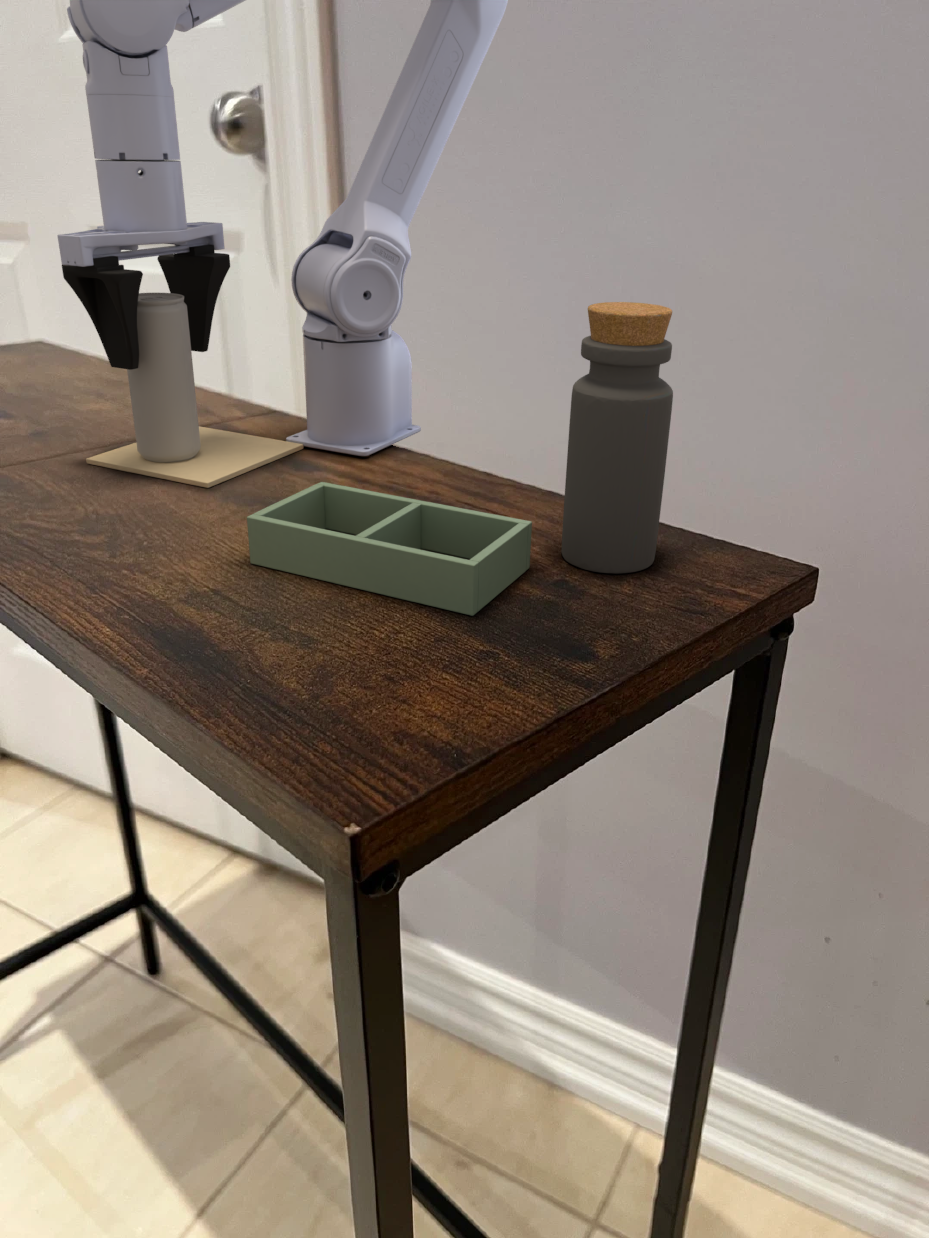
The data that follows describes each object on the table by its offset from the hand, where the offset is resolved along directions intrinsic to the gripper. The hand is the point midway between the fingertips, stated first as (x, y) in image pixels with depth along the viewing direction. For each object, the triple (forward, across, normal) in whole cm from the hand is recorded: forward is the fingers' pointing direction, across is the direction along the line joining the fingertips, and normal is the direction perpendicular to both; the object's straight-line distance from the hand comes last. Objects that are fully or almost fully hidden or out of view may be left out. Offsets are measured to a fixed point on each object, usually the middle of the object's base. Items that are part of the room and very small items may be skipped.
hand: (161, 358), depth 75 cm
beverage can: (+8, 0, 0) cm, 8 cm away
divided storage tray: (+8, +10, +26) cm, 29 cm away
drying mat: (+8, -2, +1) cm, 8 cm away
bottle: (+8, +2, +37) cm, 38 cm away
